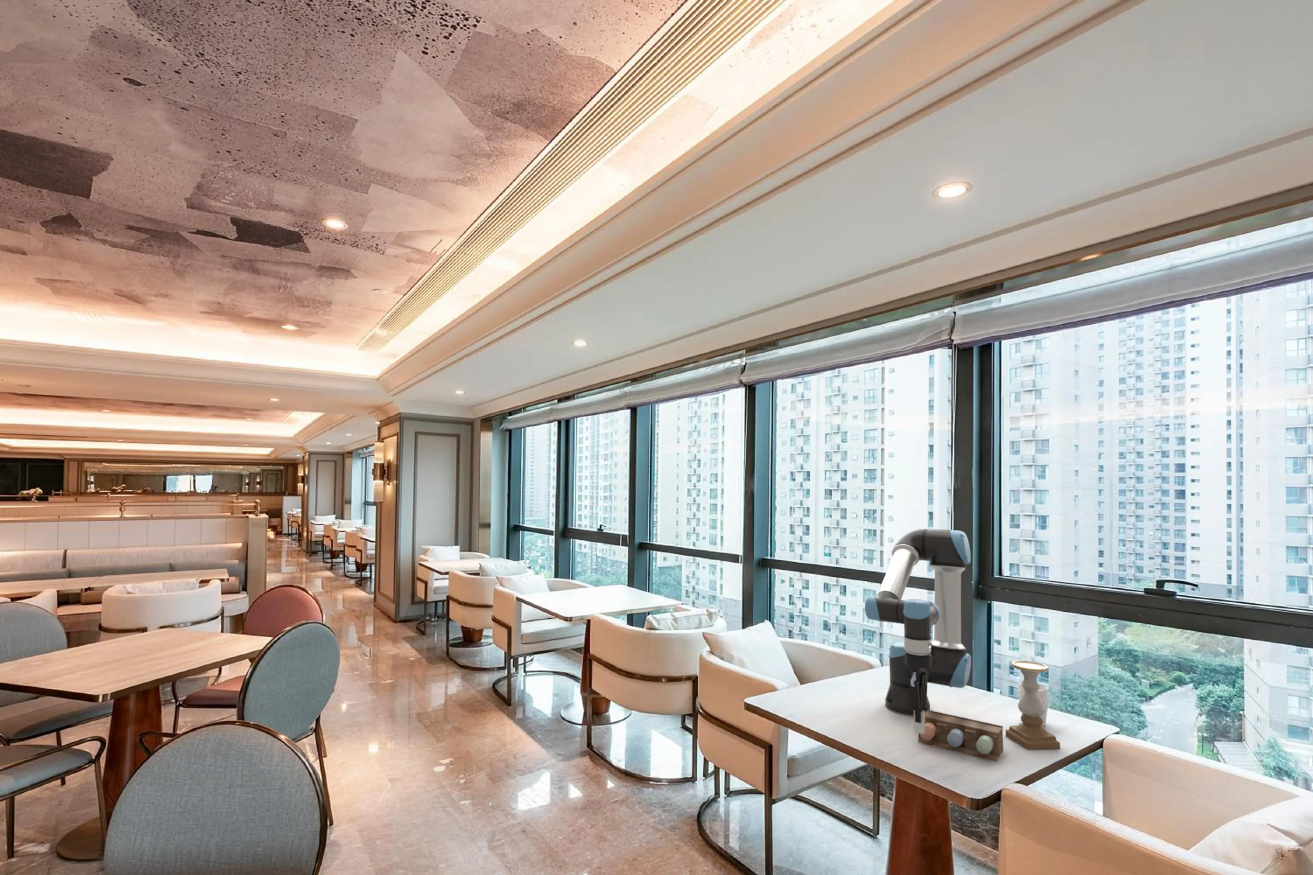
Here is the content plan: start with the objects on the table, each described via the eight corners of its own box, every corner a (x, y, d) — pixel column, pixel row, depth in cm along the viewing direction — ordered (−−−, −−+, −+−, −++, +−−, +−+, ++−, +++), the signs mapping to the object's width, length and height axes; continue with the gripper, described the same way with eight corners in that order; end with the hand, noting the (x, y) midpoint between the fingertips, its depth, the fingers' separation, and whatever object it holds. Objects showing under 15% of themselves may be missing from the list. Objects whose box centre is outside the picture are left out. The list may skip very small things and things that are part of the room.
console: (918, 742, 198) (917, 718, 199) (927, 732, 206) (926, 709, 207) (996, 761, 185) (995, 736, 185) (1003, 750, 193) (1002, 725, 193)
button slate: (947, 744, 191) (946, 731, 192) (950, 740, 194) (950, 727, 195) (961, 748, 189) (961, 734, 189) (964, 744, 192) (964, 730, 192)
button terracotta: (919, 738, 196) (919, 724, 196) (923, 734, 199) (923, 721, 200) (933, 741, 194) (932, 728, 194) (936, 737, 197) (936, 724, 197)
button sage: (976, 751, 186) (975, 737, 187) (979, 747, 189) (978, 733, 190) (991, 755, 184) (990, 741, 184) (993, 751, 187) (993, 737, 187)
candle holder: (1004, 735, 204) (1002, 660, 206) (1037, 734, 205) (1034, 659, 207) (1027, 749, 193) (1024, 670, 195) (1061, 748, 194) (1058, 669, 196)
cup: (1054, 728, 210) (1052, 691, 211) (1024, 726, 212) (1023, 689, 213) (1043, 718, 219) (1042, 683, 220) (1015, 716, 221) (1013, 681, 221)
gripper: (924, 658, 184) (926, 742, 183) (936, 650, 195) (938, 729, 193) (898, 654, 189) (899, 735, 187) (911, 646, 199) (913, 723, 197)
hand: (919, 732), depth 190 cm, fingers closed
